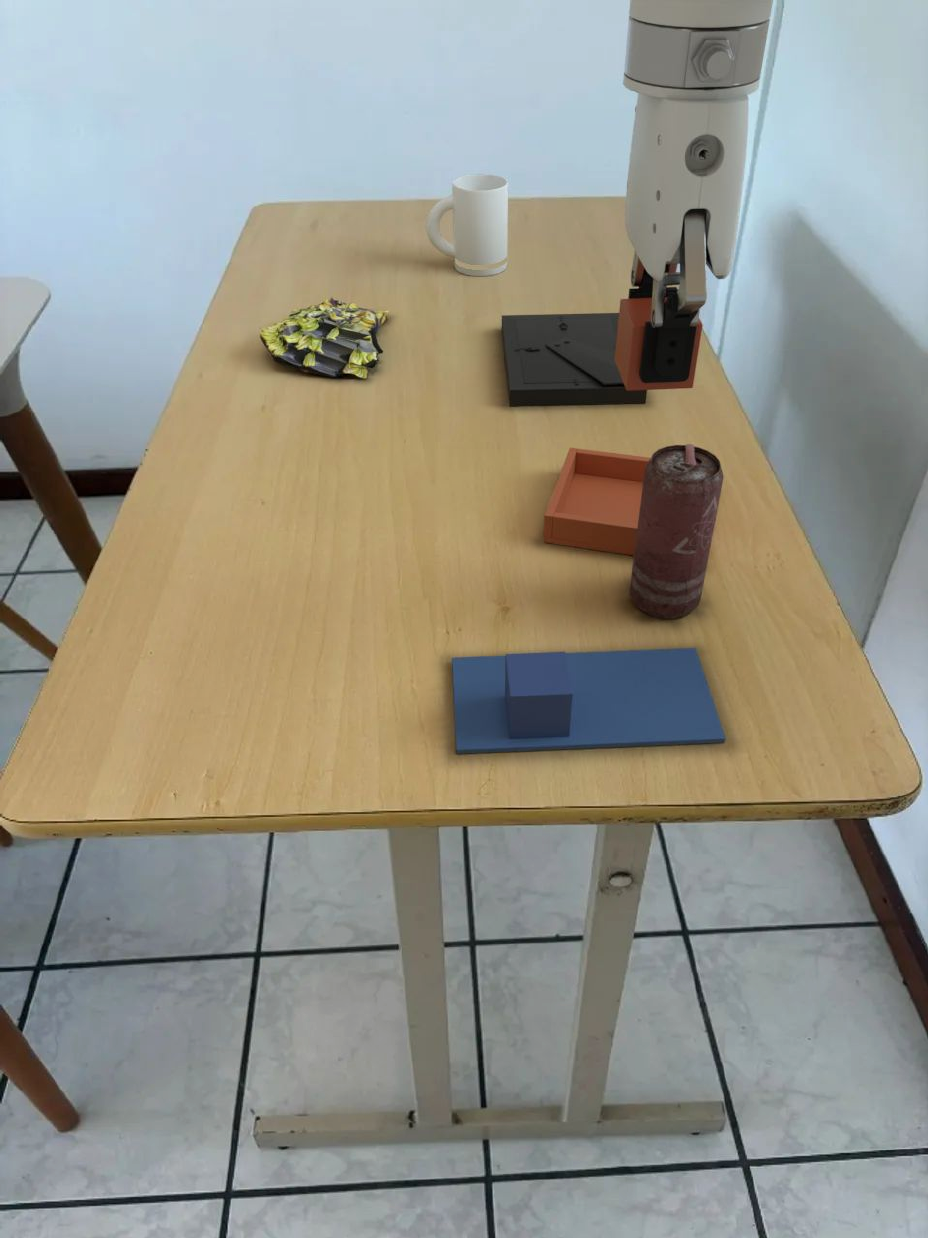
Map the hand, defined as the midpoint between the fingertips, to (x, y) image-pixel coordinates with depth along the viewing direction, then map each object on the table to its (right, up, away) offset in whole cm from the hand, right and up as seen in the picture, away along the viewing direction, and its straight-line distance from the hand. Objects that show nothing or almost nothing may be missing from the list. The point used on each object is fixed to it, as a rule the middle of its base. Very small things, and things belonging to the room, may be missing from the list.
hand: (655, 359), depth 65 cm
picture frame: (0, +14, +54) cm, 56 cm away
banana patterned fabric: (-29, +18, +60) cm, 69 cm away
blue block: (-7, -25, +8) cm, 27 cm away
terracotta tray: (+3, -7, +29) cm, 30 cm away
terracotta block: (0, -1, +1) cm, 1 cm away
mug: (-12, +35, +79) cm, 88 cm away
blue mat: (-4, -24, +10) cm, 26 cm away
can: (+5, -16, +19) cm, 25 cm away
